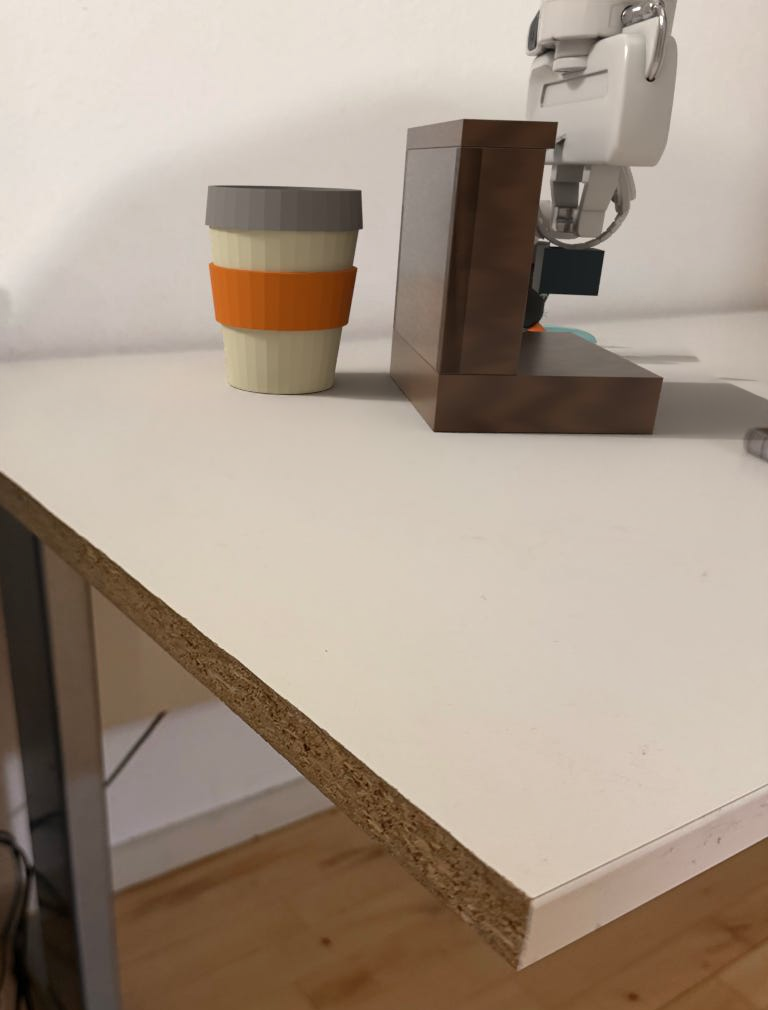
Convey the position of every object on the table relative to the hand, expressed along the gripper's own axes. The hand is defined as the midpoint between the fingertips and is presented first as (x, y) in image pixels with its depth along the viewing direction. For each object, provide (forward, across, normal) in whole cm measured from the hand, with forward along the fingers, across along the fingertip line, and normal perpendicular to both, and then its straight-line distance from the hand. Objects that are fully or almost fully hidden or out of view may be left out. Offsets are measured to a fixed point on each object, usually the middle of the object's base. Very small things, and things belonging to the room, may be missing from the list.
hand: (573, 234), depth 71 cm
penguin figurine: (+13, +23, -2) cm, 26 cm away
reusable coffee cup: (+13, +6, +22) cm, 26 cm away
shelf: (+12, 0, +4) cm, 13 cm away
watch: (+4, 0, 0) cm, 4 cm away
